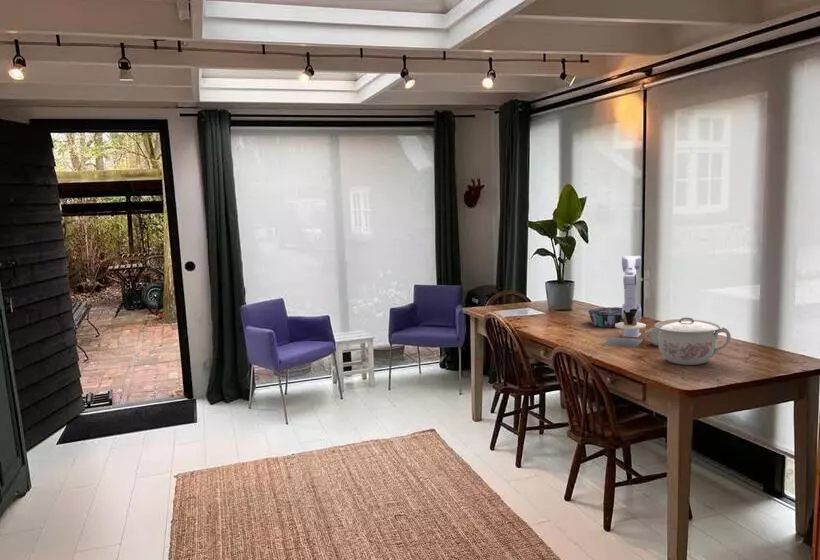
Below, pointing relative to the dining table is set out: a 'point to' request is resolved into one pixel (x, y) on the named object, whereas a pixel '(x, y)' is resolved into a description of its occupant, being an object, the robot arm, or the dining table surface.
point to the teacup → (652, 335)
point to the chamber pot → (689, 340)
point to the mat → (623, 342)
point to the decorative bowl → (606, 316)
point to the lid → (630, 326)
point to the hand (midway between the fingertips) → (630, 323)
